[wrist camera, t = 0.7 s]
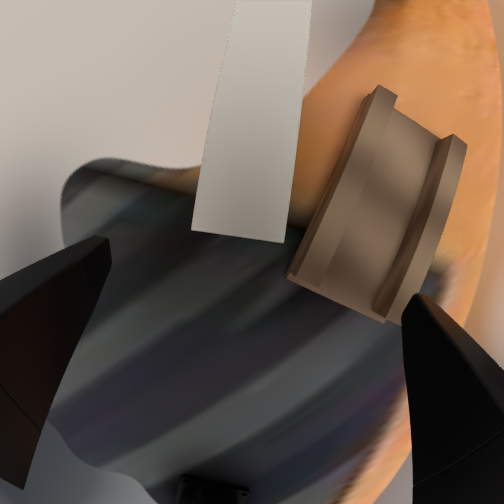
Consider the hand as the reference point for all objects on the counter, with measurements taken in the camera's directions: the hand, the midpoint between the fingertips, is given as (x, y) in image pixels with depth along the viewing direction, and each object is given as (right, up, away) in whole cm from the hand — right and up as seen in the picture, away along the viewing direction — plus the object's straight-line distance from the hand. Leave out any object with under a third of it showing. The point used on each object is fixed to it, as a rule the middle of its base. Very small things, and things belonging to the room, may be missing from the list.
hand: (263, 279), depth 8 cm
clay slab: (0, +8, +13) cm, 15 cm away
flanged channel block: (+9, +4, +13) cm, 16 cm away
